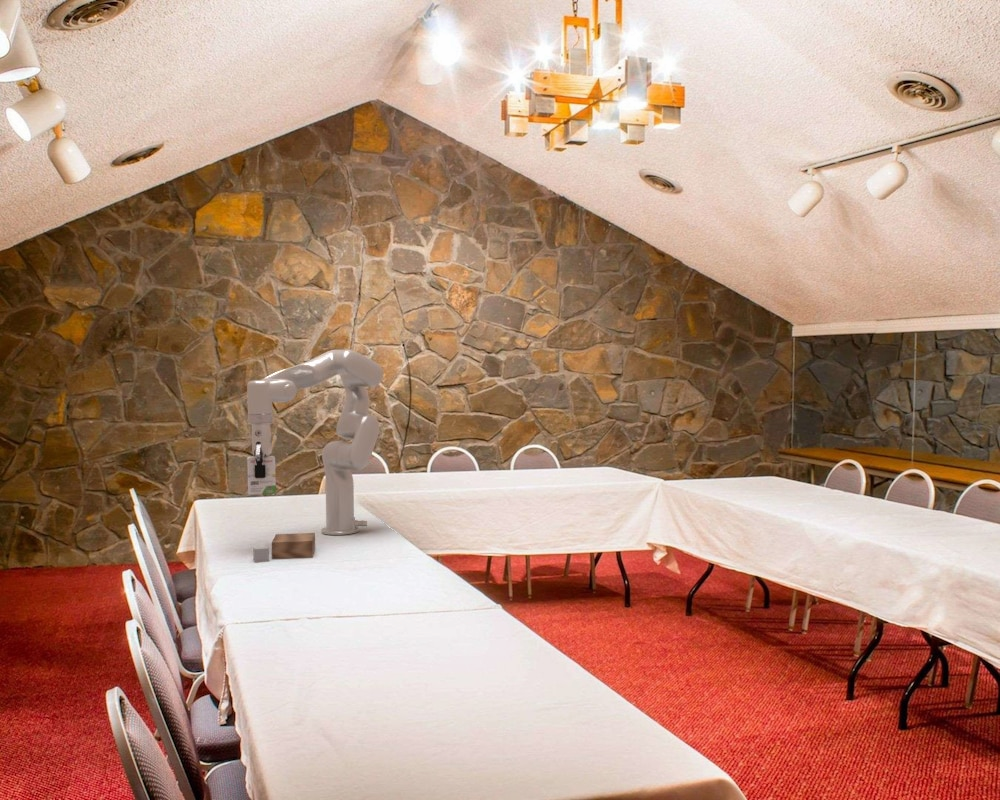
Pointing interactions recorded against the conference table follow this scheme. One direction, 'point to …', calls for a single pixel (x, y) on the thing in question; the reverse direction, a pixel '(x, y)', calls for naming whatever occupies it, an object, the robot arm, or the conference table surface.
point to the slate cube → (261, 554)
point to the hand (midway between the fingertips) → (261, 475)
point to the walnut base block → (293, 545)
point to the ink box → (262, 484)
